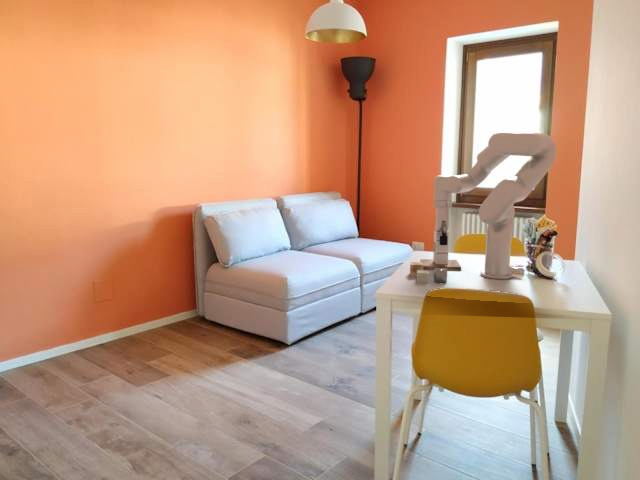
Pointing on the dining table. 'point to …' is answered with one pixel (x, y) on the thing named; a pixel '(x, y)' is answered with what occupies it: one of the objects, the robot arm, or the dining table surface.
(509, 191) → the robot arm
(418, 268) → the oak block
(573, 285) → the dining table surface
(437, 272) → the grey tin
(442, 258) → the syrup box
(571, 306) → the dining table surface
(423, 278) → the sage cube
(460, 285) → the dining table surface
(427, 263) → the walnut board
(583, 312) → the dining table surface
